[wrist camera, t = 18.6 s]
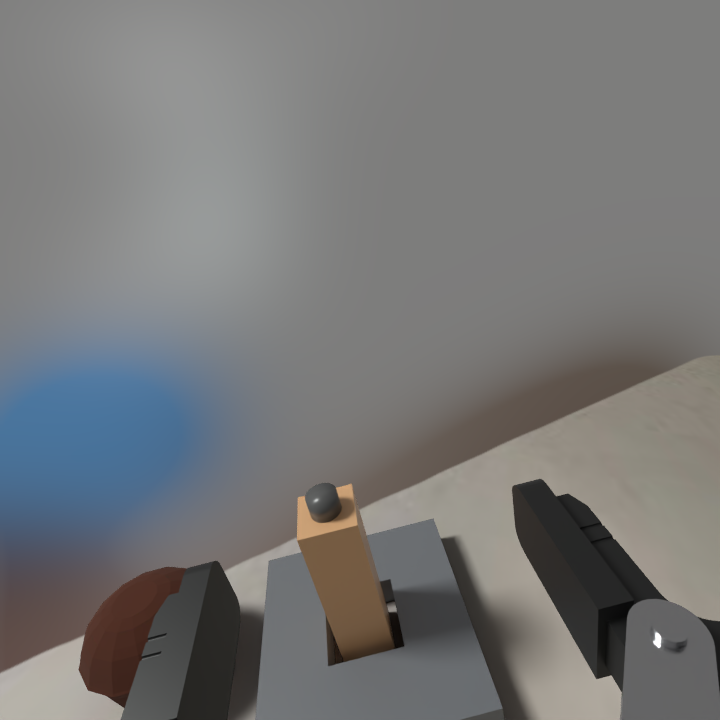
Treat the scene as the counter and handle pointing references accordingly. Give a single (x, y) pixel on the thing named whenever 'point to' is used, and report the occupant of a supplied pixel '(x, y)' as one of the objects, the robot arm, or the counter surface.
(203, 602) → the robot arm
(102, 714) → the counter surface
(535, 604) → the counter surface
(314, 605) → the socket
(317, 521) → the plug
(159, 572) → the muffin
